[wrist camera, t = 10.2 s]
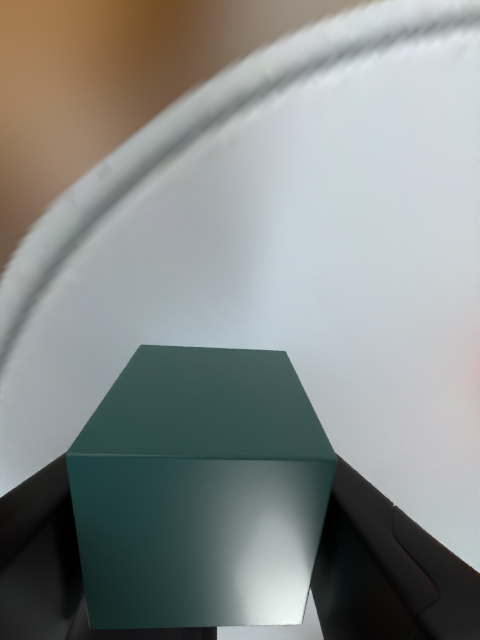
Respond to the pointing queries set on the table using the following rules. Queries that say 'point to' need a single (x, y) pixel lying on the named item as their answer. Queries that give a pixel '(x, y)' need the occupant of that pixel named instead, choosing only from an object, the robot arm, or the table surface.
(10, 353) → the table surface
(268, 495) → the block
